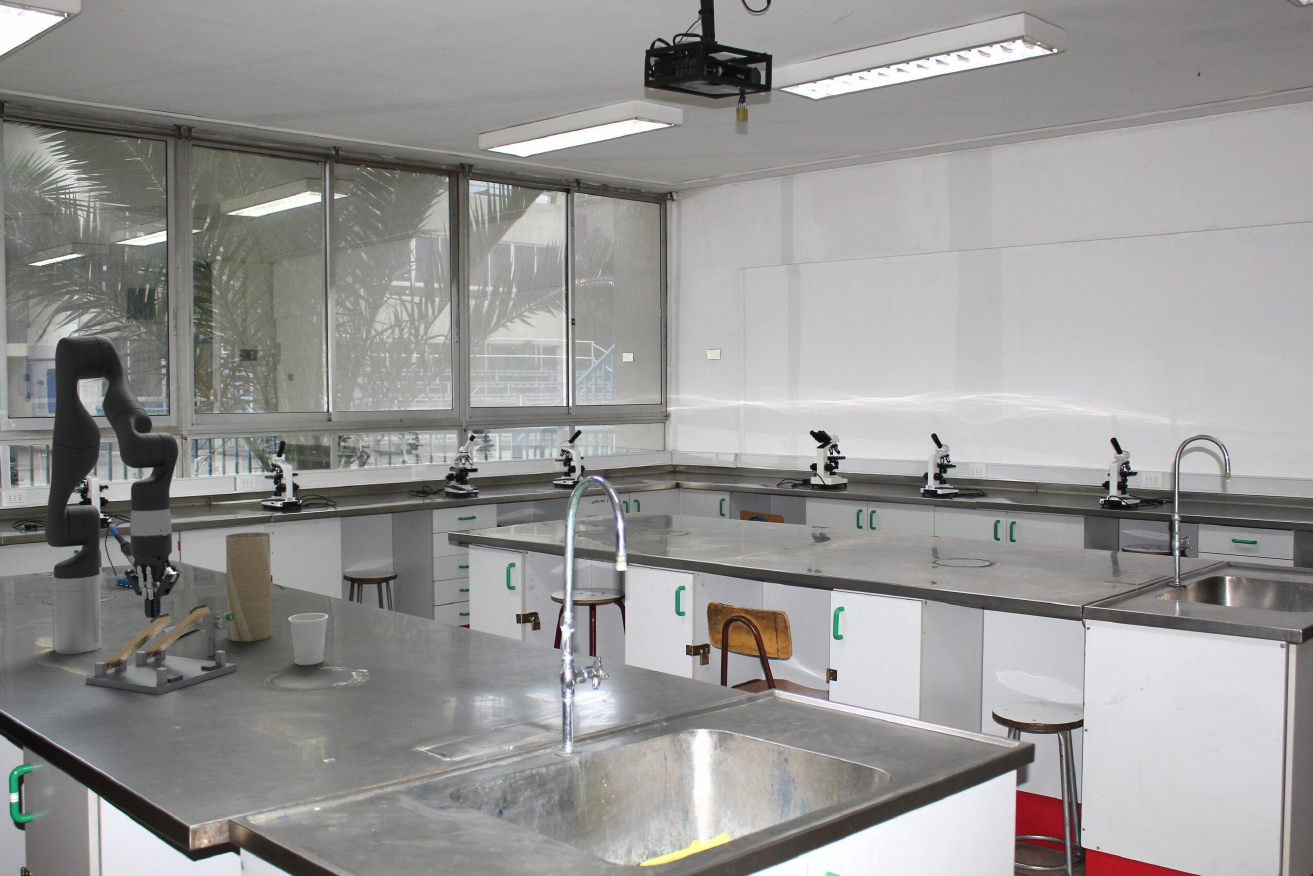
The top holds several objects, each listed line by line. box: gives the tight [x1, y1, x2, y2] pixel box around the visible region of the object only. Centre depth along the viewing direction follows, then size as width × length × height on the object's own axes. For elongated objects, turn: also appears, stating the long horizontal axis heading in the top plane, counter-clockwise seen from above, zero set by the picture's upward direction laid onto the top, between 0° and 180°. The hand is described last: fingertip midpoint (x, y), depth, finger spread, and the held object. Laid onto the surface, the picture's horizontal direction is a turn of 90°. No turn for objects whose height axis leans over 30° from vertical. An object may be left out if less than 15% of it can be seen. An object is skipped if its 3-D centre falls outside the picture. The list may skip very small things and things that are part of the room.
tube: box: [225, 532, 273, 642], centre depth 255 cm, size 10×10×25 cm
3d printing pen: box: [156, 625, 196, 642], centre depth 257 cm, size 19×3×3 cm, turn 174°
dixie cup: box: [287, 612, 329, 666], centre depth 231 cm, size 8×8×10 cm
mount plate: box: [85, 648, 237, 695], centre depth 218 cm, size 20×20×4 cm
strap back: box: [145, 604, 211, 660], centre depth 223 cm, size 19×3×2 cm
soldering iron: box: [104, 525, 182, 586], centre depth 339 cm, size 35×31×18 cm
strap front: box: [105, 613, 173, 671], centre depth 214 cm, size 19×3×2 cm
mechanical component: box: [188, 610, 233, 657], centre depth 236 cm, size 3×10×10 cm, turn 79°
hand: (152, 617), depth 212 cm, fingers closed
